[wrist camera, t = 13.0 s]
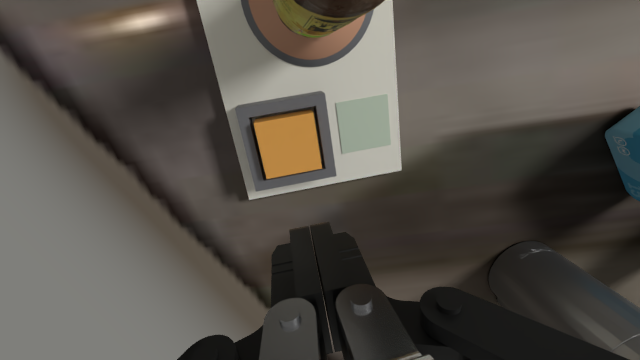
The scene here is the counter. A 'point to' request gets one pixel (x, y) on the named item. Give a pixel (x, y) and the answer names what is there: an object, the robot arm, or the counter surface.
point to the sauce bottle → (321, 14)
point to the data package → (627, 150)
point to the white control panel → (307, 89)
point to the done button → (288, 143)
